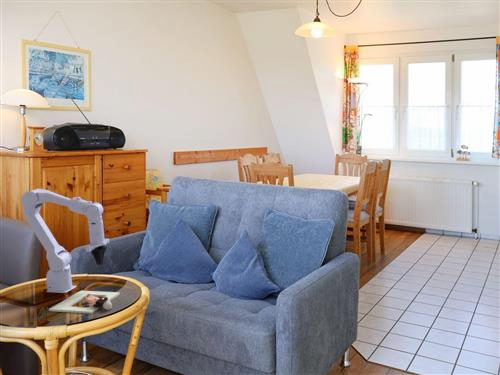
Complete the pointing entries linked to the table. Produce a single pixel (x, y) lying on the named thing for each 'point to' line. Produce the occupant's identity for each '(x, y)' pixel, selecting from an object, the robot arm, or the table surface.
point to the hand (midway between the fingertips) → (99, 264)
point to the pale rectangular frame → (67, 304)
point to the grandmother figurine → (97, 302)
